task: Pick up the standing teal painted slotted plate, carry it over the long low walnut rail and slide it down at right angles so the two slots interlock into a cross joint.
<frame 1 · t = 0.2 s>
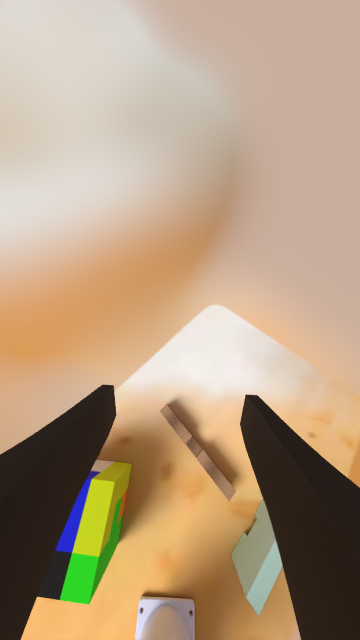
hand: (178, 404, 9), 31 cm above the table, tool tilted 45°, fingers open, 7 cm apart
walnut rail: (193, 444, 33), on the table
teal plate: (253, 529, 28), on the table
puzzle toy: (98, 496, 30), on the table
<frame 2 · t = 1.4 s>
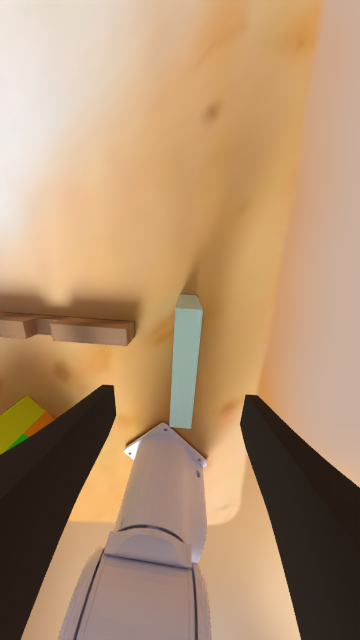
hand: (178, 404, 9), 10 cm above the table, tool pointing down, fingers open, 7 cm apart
walnut rail: (57, 323, 19), on the table
teal plate: (185, 338, 19), on the table
puzzle toy: (35, 432, 25), on the table
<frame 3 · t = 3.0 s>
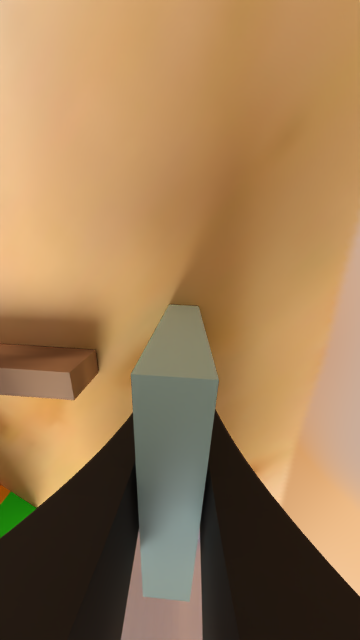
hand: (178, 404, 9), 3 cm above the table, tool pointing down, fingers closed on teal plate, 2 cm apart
teal plate: (180, 375, 12), on the table, touching gripper
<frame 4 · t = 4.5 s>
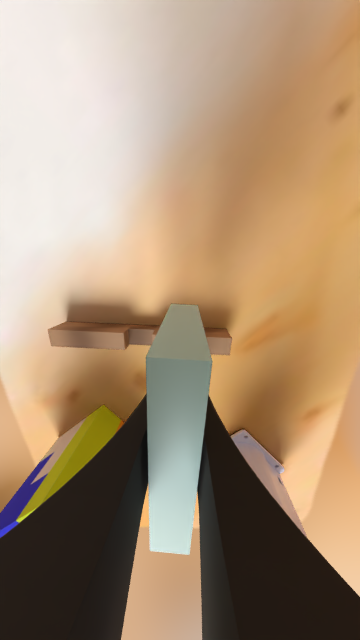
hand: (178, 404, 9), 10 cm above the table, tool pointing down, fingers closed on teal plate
walnut rail: (144, 332, 19), on the table
teal plate: (180, 368, 13), point 6 cm above the table, touching gripper
puzzle toy: (106, 441, 24), on the table
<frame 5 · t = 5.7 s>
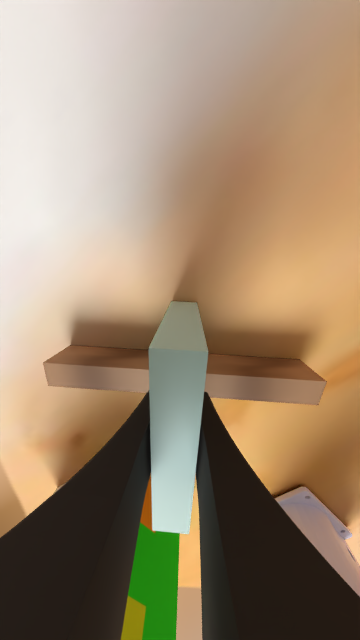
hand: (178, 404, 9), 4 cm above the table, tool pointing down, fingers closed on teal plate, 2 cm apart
walnut rail: (181, 362, 13), on the table
teal plate: (181, 363, 13), on the table, touching gripper
puzzle toy: (119, 492, 19), on the table
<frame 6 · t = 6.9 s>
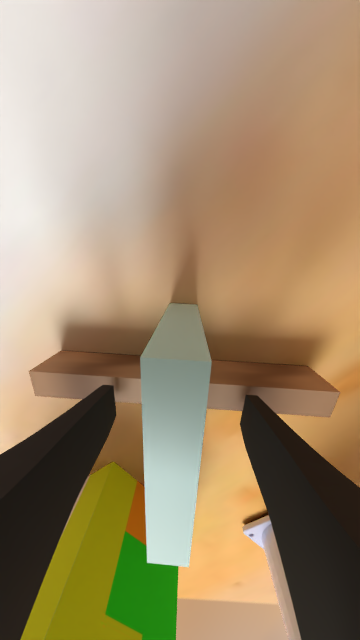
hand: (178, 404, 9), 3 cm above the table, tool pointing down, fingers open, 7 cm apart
walnut rail: (180, 368, 12), on the table
teal plate: (180, 369, 12), on the table, touching walnut rail
puzzle toy: (115, 503, 18), on the table
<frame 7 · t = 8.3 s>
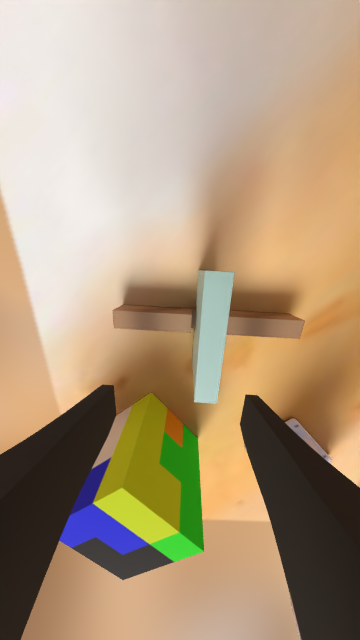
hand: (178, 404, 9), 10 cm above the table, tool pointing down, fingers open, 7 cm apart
walnut rail: (203, 317, 18), on the table
teal plate: (203, 317, 18), on the table, touching walnut rail
puzzle toy: (149, 430, 24), on the table
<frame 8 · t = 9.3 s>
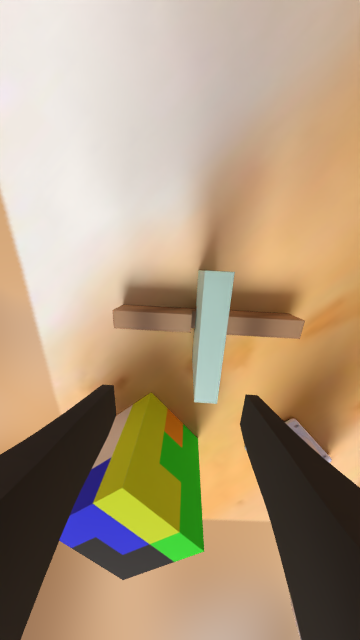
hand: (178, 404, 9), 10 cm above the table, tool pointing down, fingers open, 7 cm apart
walnut rail: (203, 317, 18), on the table
teal plate: (203, 317, 18), on the table, touching walnut rail
puzzle toy: (149, 430, 24), on the table
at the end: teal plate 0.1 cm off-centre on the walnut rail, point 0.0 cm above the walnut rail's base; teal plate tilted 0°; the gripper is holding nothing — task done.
